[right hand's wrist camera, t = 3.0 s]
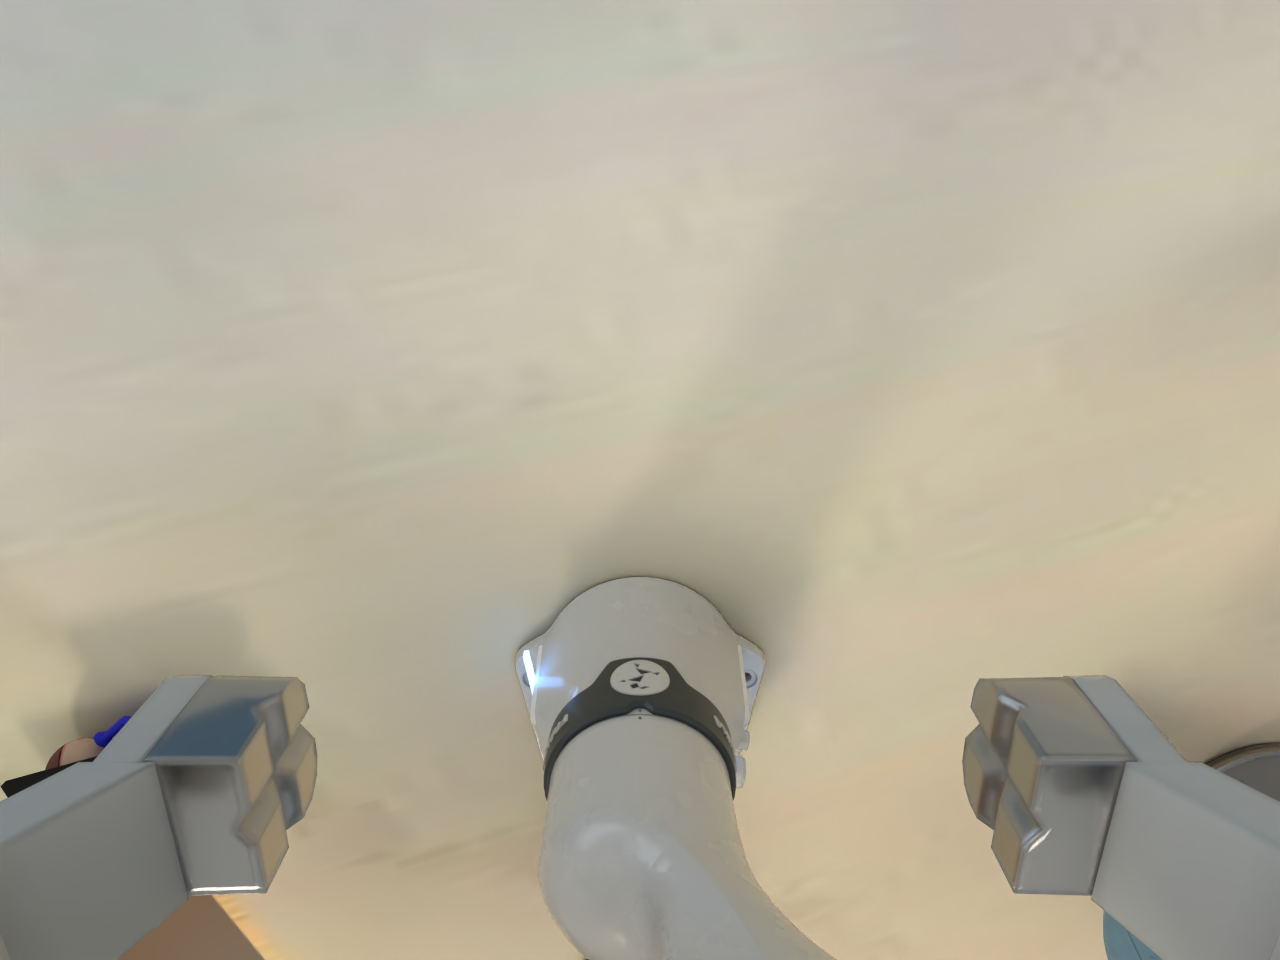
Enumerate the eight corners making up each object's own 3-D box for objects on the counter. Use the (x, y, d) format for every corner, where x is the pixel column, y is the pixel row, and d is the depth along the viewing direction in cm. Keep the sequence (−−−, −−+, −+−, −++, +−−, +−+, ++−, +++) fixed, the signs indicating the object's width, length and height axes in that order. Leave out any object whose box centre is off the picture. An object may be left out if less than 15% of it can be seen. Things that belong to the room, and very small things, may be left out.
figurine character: (227, 668, 68) (46, 728, 68) (192, 726, 61) (-11, 793, 61) (266, 735, 71) (90, 792, 71) (235, 798, 64) (40, 863, 64)
